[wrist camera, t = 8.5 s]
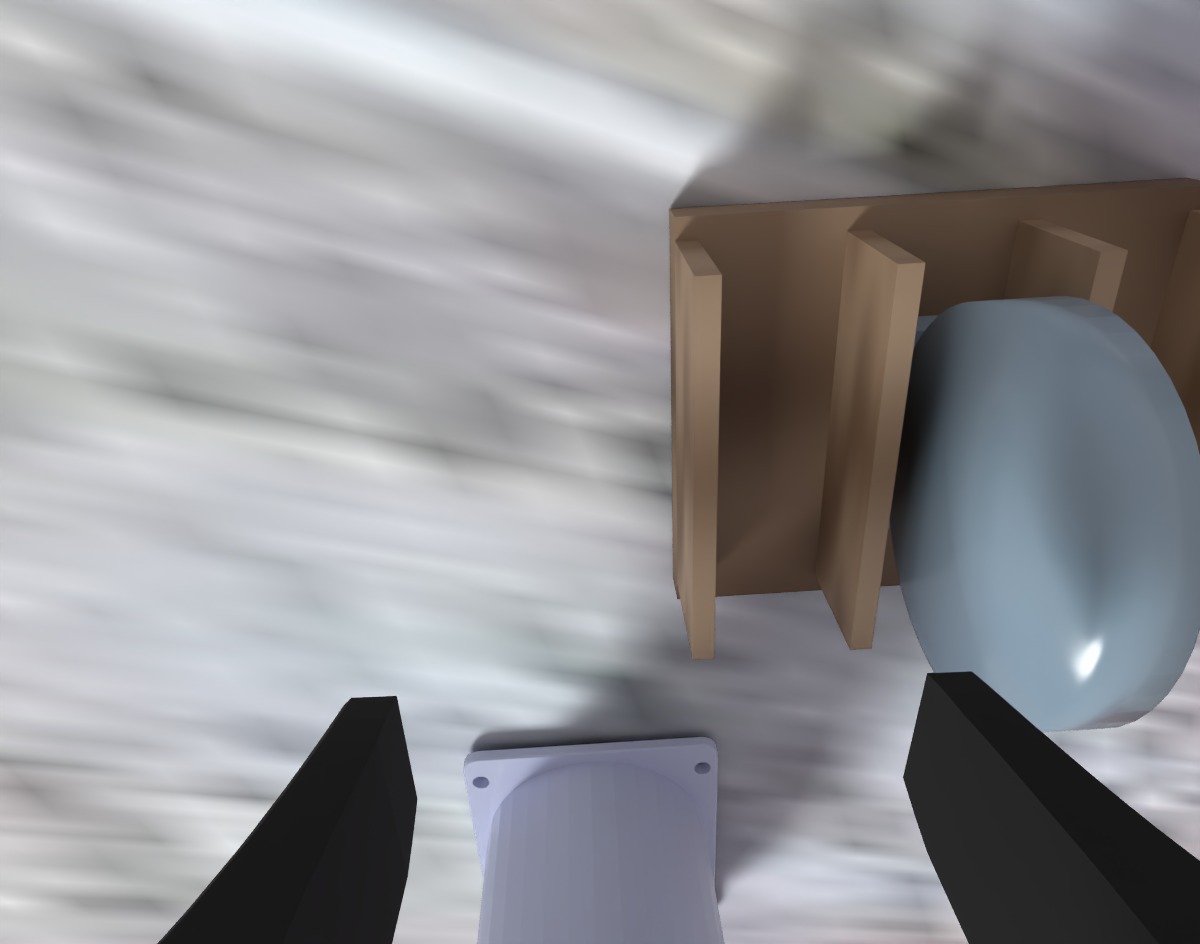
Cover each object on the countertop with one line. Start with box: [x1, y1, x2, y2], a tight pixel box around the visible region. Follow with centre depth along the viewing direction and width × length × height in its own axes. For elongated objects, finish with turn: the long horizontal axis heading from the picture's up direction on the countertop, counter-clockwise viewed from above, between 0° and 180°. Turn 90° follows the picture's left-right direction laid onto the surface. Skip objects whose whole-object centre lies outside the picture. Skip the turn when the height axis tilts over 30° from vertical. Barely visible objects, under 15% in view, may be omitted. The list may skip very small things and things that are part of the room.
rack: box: [669, 178, 1200, 660], centre depth 18 cm, size 10×12×4 cm
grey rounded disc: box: [888, 296, 1200, 733], centre depth 15 cm, size 8×2×8 cm, turn 3°
